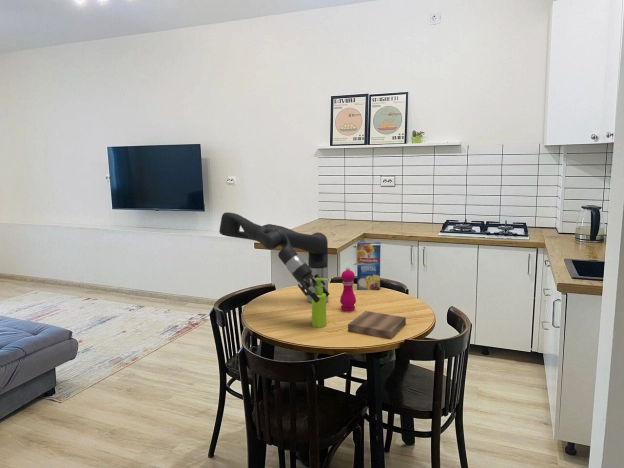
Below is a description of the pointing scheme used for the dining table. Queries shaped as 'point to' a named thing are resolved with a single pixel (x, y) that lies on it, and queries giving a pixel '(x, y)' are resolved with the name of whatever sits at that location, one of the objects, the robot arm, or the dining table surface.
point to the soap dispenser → (319, 305)
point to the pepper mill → (348, 291)
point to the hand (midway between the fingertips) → (323, 298)
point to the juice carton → (368, 265)
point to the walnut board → (377, 324)
